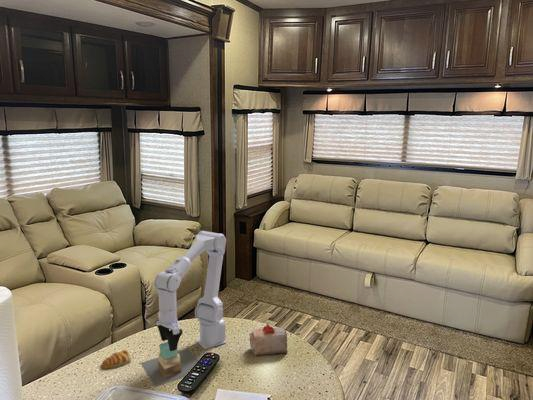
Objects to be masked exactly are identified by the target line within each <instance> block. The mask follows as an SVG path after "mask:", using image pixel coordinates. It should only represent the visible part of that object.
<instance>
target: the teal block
mask: <svg viewBox="0 0 533 400" xmlns="http://www.w3.org/2000/svg"><path fill="white" fill-rule="evenodd" d="M178 351H179V350H178V348H177V349H176V350H174V351H170V349H169V344H168V341H166V342H163V343H160V344H159V353H160V354H161V356H162V357H163V358H164V360H166V359H169V358H173V357H176V356H178Z"/></svg>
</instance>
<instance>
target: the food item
mask: <svg viewBox="0 0 533 400" xmlns="http://www.w3.org/2000/svg"><path fill="white" fill-rule="evenodd" d="M249 345H250V348H251V350H252V353H253V355H254V356H256V357H257V356H263V355H273V354H274V355H275V354H276V355H277V354H283V353H284V354H285V353H286V354H287V353H288V333H287V330H286V329H285V327H273V326H271V325H269V324H268V323H267V324H266V325H265V326H263V328H258V329H253V330H252V332H250V333H249Z"/></svg>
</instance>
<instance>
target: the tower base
mask: <svg viewBox="0 0 533 400" xmlns="http://www.w3.org/2000/svg"><path fill="white" fill-rule="evenodd" d="M158 370H159V371H160V372H161V374H162V375H163V377H164V378H166V377H169V376H171V375H174V374H177V373H180V372H181V363H180V364H179V365H176V366H172V367H169V368H166V369H164V368H163V366H162V365H161V363H160V362H159V361H158Z"/></svg>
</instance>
